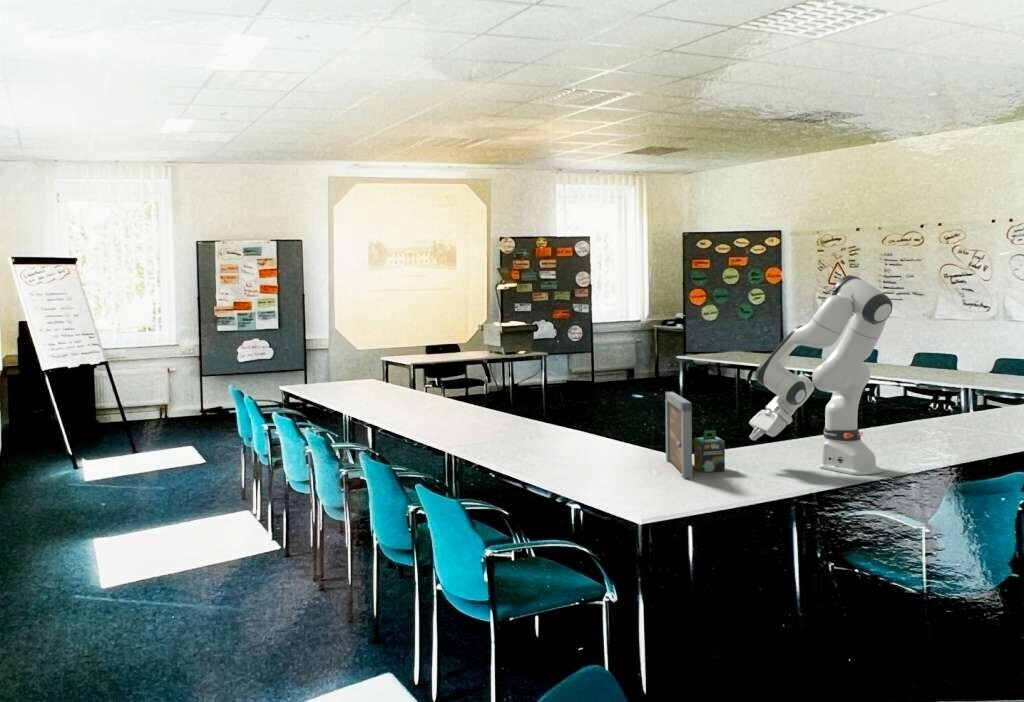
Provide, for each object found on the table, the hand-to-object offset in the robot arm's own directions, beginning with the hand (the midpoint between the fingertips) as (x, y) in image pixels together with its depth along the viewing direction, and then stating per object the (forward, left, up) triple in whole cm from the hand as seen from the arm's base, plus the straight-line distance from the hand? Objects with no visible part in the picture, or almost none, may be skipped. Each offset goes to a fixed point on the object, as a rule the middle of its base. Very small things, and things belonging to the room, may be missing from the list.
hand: (751, 439), depth 300 cm
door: (+12, +24, -11) cm, 29 cm away
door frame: (+13, +23, -11) cm, 29 cm away
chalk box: (+7, +14, -12) cm, 19 cm away
